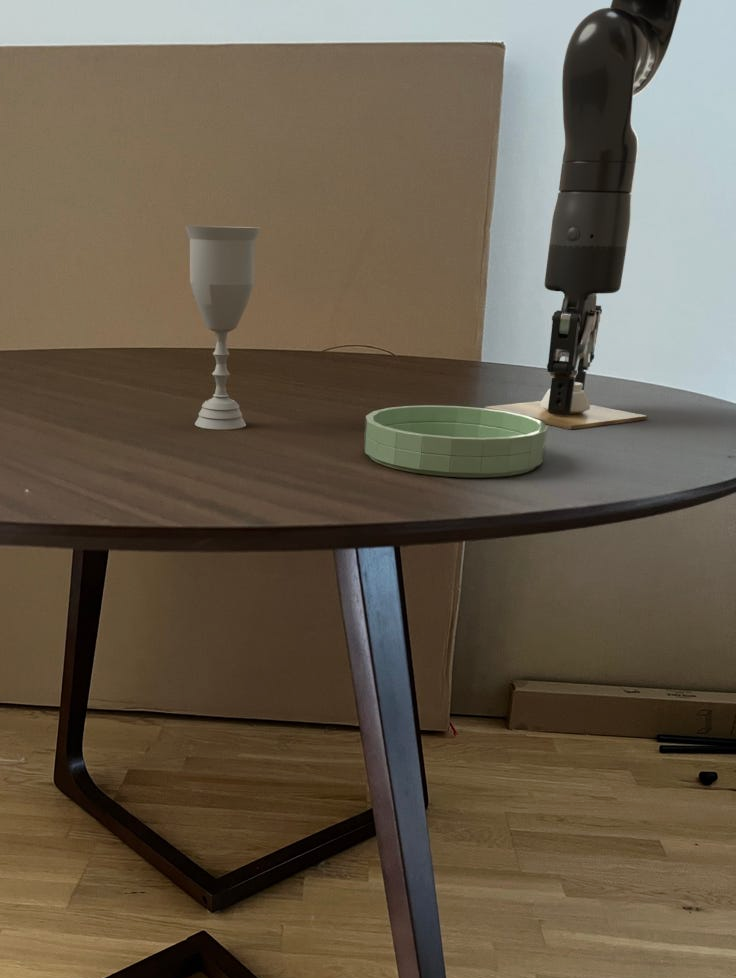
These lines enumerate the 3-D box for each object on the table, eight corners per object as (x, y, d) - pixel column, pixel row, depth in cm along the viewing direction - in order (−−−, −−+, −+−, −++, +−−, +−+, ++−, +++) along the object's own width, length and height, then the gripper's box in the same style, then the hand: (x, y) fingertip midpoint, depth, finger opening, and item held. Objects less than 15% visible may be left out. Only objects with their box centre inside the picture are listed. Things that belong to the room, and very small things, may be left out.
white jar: (594, 410, 111) (548, 405, 113) (598, 382, 110) (552, 378, 112) (580, 417, 107) (533, 411, 109) (584, 388, 106) (537, 383, 108)
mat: (559, 402, 118) (559, 398, 118) (647, 419, 109) (647, 415, 109) (484, 410, 112) (484, 406, 112) (570, 429, 102) (571, 425, 102)
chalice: (223, 434, 96) (226, 227, 89) (169, 424, 100) (167, 225, 93) (270, 424, 102) (276, 228, 95) (217, 415, 105) (218, 226, 98)
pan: (454, 434, 99) (457, 400, 98) (579, 466, 87) (585, 428, 86) (328, 449, 91) (330, 413, 90) (448, 487, 79) (452, 445, 78)
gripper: (615, 244, 96) (588, 424, 102) (636, 242, 108) (611, 403, 114) (535, 241, 99) (514, 416, 106) (564, 239, 111) (543, 397, 117)
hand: (564, 409), depth 110 cm, fingers open, 6 cm apart
